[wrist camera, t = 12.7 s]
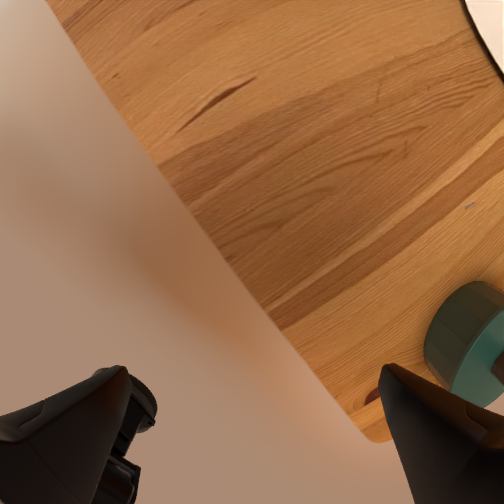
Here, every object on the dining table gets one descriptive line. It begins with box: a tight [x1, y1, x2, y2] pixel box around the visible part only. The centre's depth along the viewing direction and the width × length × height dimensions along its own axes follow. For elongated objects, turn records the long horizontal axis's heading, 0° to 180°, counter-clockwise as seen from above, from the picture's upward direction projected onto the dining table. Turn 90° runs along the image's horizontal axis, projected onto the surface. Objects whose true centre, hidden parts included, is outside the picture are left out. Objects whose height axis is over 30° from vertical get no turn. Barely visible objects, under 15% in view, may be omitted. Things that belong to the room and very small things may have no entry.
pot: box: [424, 281, 504, 391], centre depth 18 cm, size 10×10×6 cm
